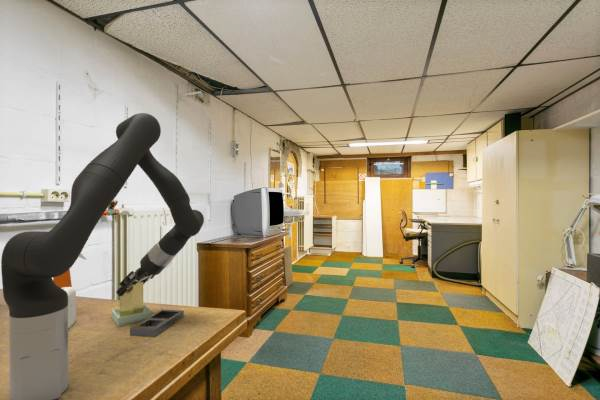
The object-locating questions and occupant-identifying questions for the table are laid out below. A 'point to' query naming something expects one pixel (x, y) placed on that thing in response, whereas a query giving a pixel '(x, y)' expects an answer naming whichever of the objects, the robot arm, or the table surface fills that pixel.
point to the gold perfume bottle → (132, 300)
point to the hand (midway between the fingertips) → (128, 290)
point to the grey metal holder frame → (156, 323)
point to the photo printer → (71, 305)
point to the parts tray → (131, 316)
